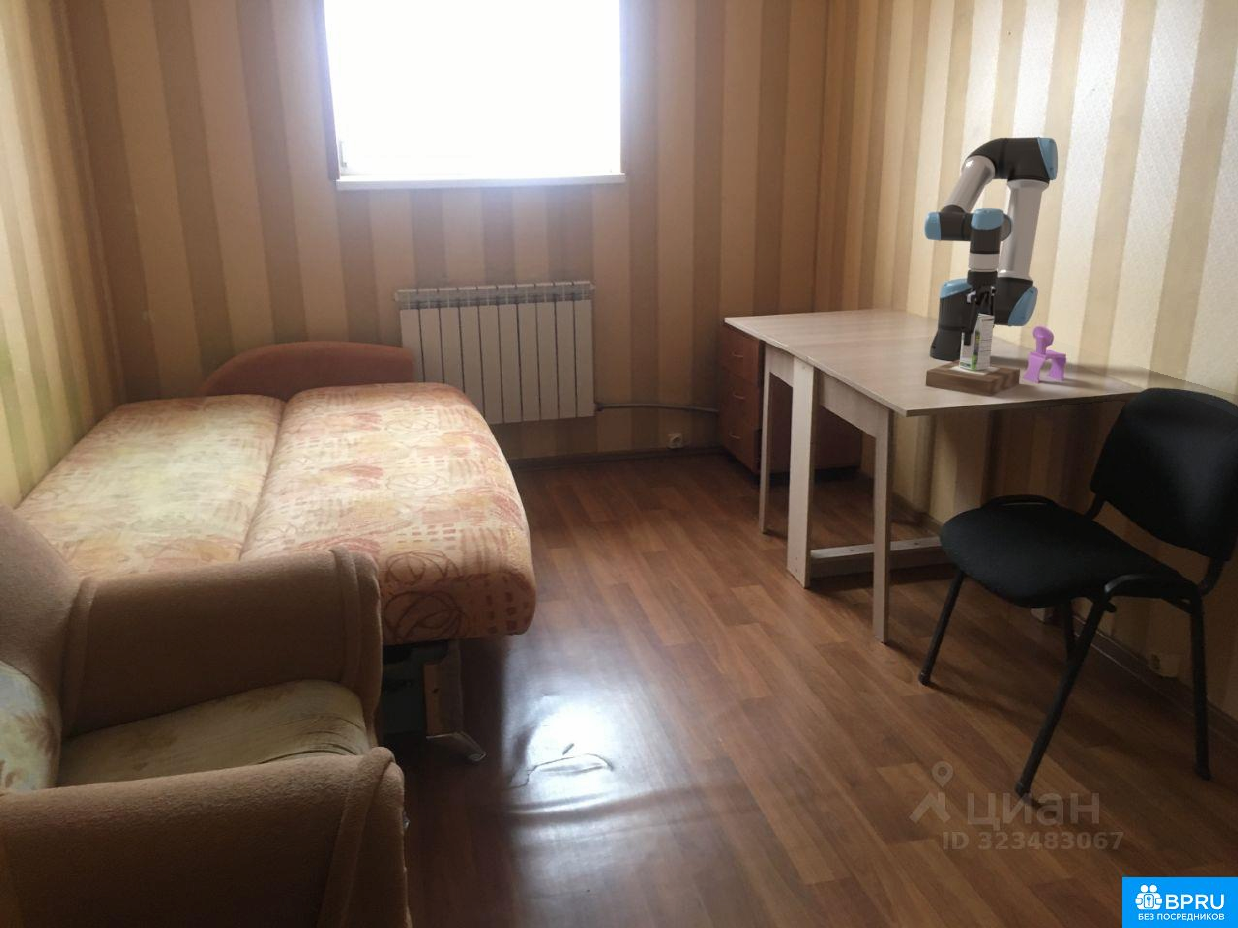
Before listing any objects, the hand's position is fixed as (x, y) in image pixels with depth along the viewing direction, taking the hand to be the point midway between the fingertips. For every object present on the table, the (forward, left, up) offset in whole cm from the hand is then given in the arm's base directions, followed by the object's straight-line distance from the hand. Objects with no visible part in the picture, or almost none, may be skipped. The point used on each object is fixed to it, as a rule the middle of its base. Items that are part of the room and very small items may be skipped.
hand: (975, 354), depth 272 cm
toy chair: (-18, +12, -8) cm, 23 cm away
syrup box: (0, 0, -4) cm, 4 cm away
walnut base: (0, 0, -8) cm, 8 cm away
